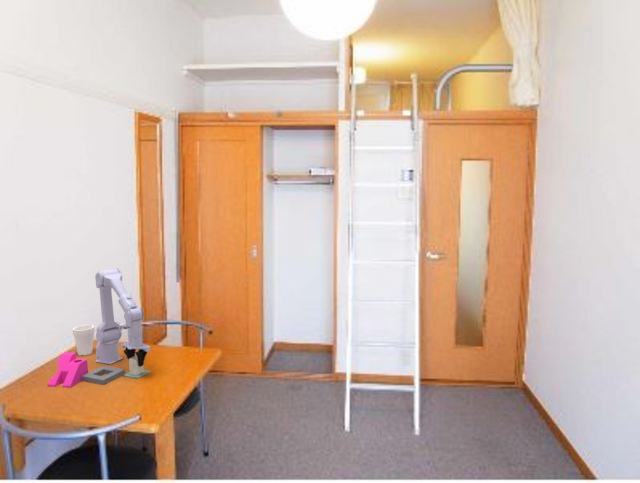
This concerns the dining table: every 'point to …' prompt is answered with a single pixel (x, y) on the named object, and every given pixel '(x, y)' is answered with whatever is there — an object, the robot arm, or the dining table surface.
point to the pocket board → (96, 378)
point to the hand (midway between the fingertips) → (136, 365)
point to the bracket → (69, 370)
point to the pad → (137, 375)
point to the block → (135, 366)
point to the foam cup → (84, 339)
